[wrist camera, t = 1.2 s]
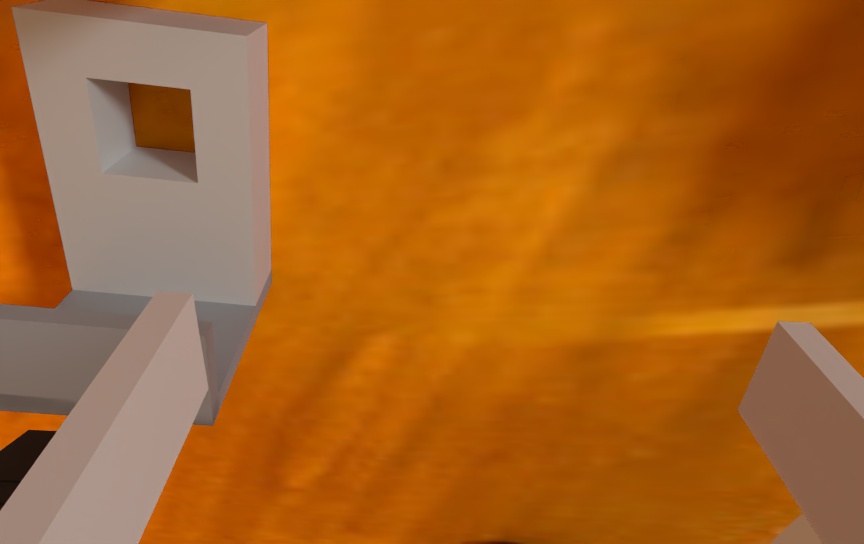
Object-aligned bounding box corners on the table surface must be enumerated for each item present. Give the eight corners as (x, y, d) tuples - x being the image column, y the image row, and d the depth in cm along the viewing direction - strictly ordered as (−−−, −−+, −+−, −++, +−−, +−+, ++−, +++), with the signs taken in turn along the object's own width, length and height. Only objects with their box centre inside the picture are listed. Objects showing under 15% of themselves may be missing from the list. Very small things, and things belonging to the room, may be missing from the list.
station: (61, -4, 35) (-149, 38, 22) (267, 22, 36) (182, 77, 23) (109, 267, 44) (-19, 409, 31) (271, 282, 45) (212, 425, 32)
